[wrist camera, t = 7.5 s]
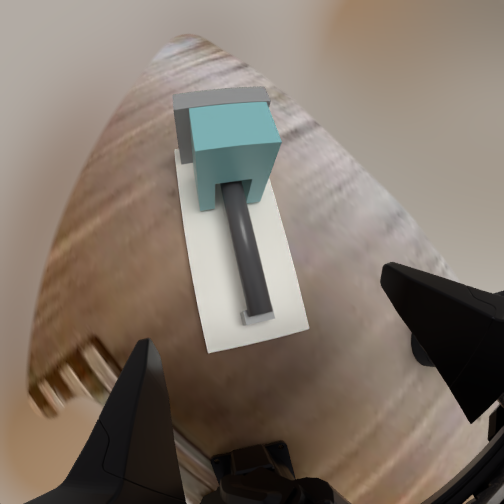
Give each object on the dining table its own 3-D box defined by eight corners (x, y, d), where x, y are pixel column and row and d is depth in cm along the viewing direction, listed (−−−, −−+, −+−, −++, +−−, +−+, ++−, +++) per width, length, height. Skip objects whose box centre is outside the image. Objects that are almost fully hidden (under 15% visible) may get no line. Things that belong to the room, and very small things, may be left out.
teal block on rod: (260, 201, 22) (281, 142, 15) (200, 210, 21) (194, 151, 14) (250, 166, 23) (266, 101, 16) (194, 173, 22) (188, 108, 15)
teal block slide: (303, 329, 22) (351, 326, 14) (208, 351, 20) (204, 365, 12) (254, 148, 26) (270, 85, 18) (176, 158, 25) (165, 95, 17)
